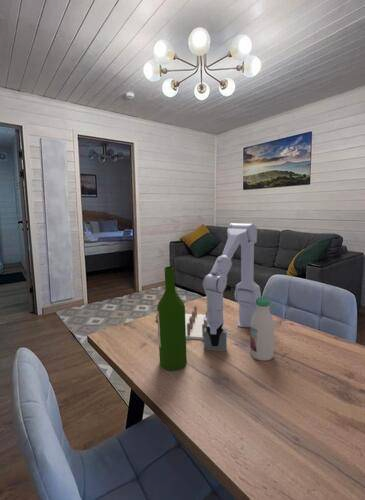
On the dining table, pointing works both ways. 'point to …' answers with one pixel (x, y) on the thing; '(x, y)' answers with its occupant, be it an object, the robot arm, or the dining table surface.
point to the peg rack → (195, 325)
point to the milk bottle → (262, 331)
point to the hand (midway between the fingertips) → (215, 343)
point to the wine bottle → (171, 326)
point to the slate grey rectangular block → (222, 341)
